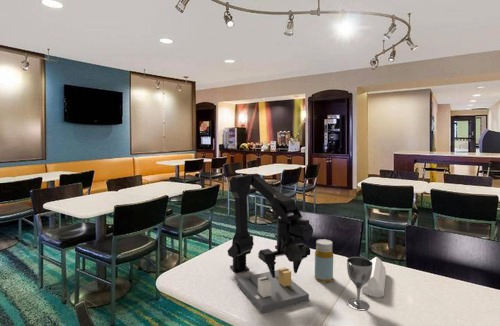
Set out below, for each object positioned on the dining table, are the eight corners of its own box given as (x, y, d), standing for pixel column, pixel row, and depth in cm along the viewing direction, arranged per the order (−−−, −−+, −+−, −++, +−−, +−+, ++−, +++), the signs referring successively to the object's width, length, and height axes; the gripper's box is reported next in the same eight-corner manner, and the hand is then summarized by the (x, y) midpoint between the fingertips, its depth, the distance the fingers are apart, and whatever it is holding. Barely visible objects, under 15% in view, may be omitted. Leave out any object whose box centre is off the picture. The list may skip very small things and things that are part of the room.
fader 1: (257, 291, 107) (257, 277, 107) (265, 290, 109) (265, 275, 108) (263, 297, 104) (263, 282, 103) (271, 295, 105) (271, 280, 104)
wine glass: (358, 313, 99) (360, 268, 98) (340, 301, 106) (342, 259, 105) (376, 307, 103) (377, 263, 101) (357, 296, 110) (359, 255, 109)
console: (237, 284, 118) (237, 278, 118) (278, 275, 126) (278, 269, 125) (261, 313, 99) (261, 305, 99) (308, 301, 107) (308, 293, 106)
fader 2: (278, 281, 115) (278, 268, 114) (285, 280, 116) (285, 266, 115) (283, 286, 111) (283, 272, 110) (291, 285, 112) (291, 271, 112)
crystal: (362, 259, 132) (355, 284, 111) (378, 254, 129) (374, 278, 108) (371, 276, 131) (366, 304, 110) (387, 270, 128) (385, 298, 107)
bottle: (333, 283, 119) (334, 245, 118) (314, 281, 120) (315, 244, 119) (332, 275, 126) (333, 239, 124) (314, 273, 127) (315, 238, 126)
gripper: (272, 244, 101) (272, 290, 102) (320, 236, 108) (319, 279, 110) (257, 234, 111) (257, 276, 112) (302, 227, 118) (301, 267, 120)
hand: (284, 275), depth 113 cm, fingers open, 9 cm apart
